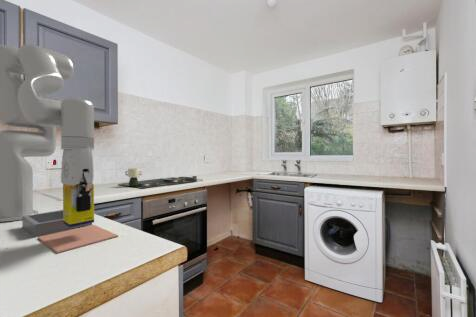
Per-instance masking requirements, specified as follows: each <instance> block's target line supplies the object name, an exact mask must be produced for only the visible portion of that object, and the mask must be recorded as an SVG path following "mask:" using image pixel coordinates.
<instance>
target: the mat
mask: <svg viewBox="0 0 476 317" xmlns="http://www.w3.org/2000/svg"><path fill="white" fill-rule="evenodd" d="M118 237H119V235H118V234H116V233H114V232H112V231H109V230H107V229H104V228H102V227H101V226H100V227H99V225H95V224H92V225H89V226H84V227H80V228H75V229H70V230H66V231H61V232H57V233H52V234H47V235H43V236H38V237H37V239H38V240H40V241H41V242H42V243H44V244H45V245H46V246H47V247H48V246H49V248H50V249H51V250H52V251H54V252H55V253H56V254H61V253H65V252H68V250H69V251H71V250H75V249H74V248H76V249H78V247H79V248H83V247H86V246H90V245H92V244H96V243H101V242H103V241H104V242H105V241H107V239H108V240H112V239H114V238H115V239H116V238H118ZM111 238H112V239H111ZM89 244H90V245H89ZM82 246H83V247H82Z"/></svg>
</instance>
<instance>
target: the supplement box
mask: <svg viewBox="0 0 476 317" xmlns="http://www.w3.org/2000/svg"><path fill="white" fill-rule="evenodd" d="M83 184H85V183H83ZM79 185H81V184H79ZM81 190H82V188H81ZM94 194H95V186H94V183H93V185H92V187H91V196H90V201H91V209H90V210H87V211H81V212H77V211H76V197H78V193H77V186H74V187H72V186H69V185H64V184H62V204H63V206H62V207H63V208H62V210H63V223H64V224H65V225H67V226H68V227H73V226H77V225H82V224H87V223H92V224H93V223H94V222H95V195H94Z"/></svg>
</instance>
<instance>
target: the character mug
mask: <svg viewBox="0 0 476 317" xmlns="http://www.w3.org/2000/svg"><path fill="white" fill-rule="evenodd" d="M142 174H143V172H142V170H140V168H138V167H136V168H135V167H134V168H133V167H131V168H130V167H129V168H128V169H127V170H125V176H127V177H128V178H129V183H128V186H129V187H137V186H139V179H138V178H139V177H140V176H142Z"/></svg>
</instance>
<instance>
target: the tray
mask: <svg viewBox="0 0 476 317" xmlns="http://www.w3.org/2000/svg"><path fill="white" fill-rule="evenodd" d="M21 224H22V228H23V229H24V230H25V231H27V232H28V233H29V234H30V235H32V236H33V237H34V238H38V237H40V236H45V235H49V234H54V233H58V232H63V231H67V230H72V229H77V228H79V227H80V228H81V227H83V226H84V227H86V226H88V225H89V226H90V225H93V222H92V223H87V224H82V225H77V226H73V227H68V226H67V225H65V224H64V223H63V209H59V210H54V211H48V212H47V211H46V212H41V213H38V214H33V215H27V216H22V223H21Z"/></svg>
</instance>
